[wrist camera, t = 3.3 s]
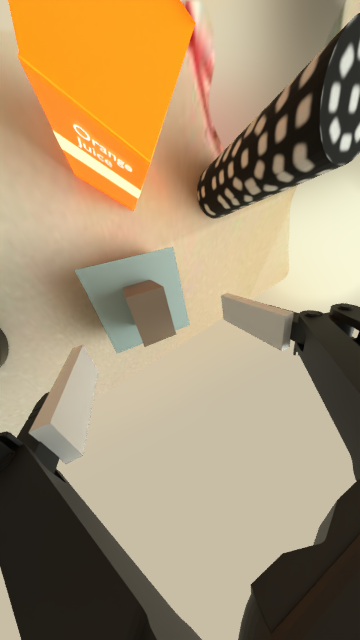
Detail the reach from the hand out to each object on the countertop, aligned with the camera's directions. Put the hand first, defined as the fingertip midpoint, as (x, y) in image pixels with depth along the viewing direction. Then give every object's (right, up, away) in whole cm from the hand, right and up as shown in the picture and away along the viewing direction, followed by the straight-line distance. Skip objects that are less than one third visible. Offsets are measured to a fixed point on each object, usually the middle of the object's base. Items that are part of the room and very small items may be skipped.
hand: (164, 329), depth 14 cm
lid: (-5, +4, +10) cm, 11 cm away
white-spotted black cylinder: (+9, +26, +16) cm, 32 cm away
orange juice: (-9, +24, +9) cm, 28 cm away
